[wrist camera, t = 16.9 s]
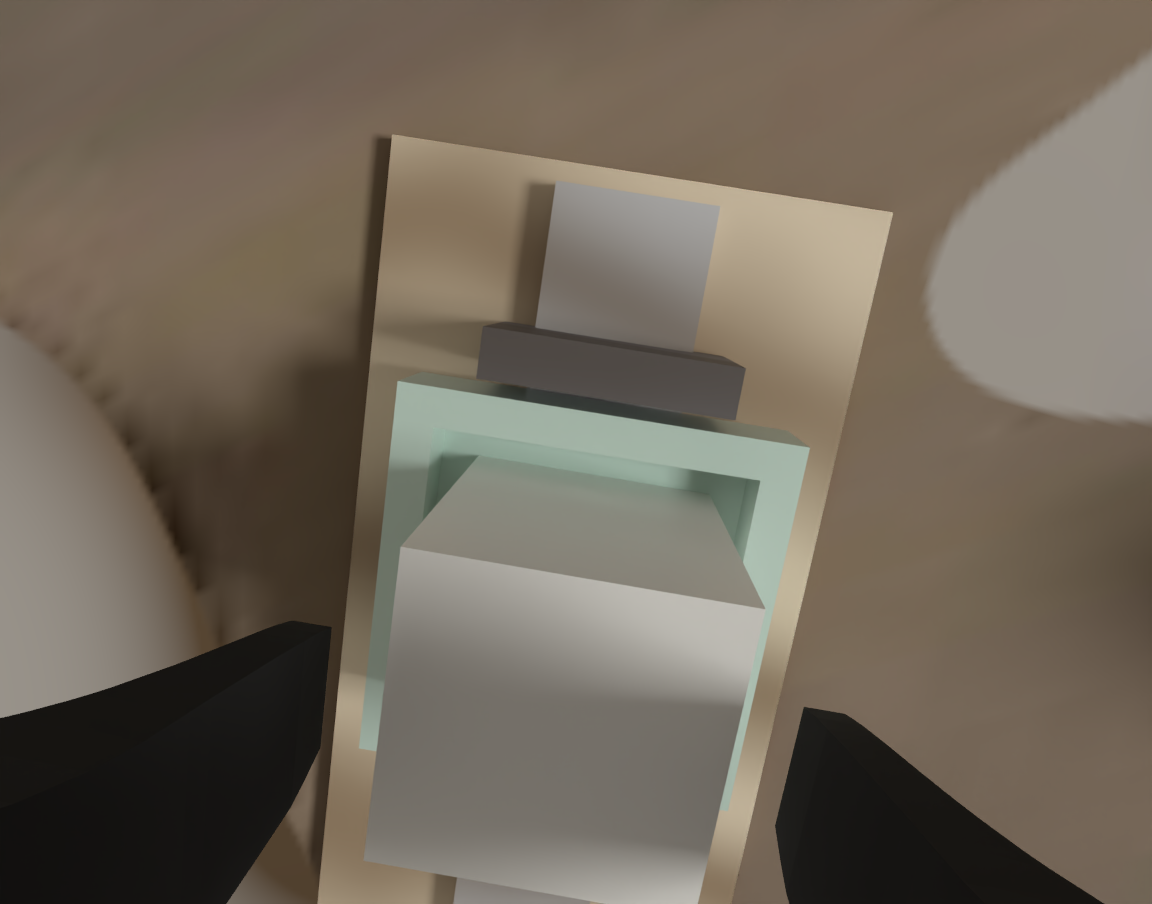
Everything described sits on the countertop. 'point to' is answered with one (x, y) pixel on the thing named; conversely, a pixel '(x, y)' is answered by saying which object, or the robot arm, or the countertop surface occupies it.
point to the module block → (563, 686)
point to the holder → (587, 445)
